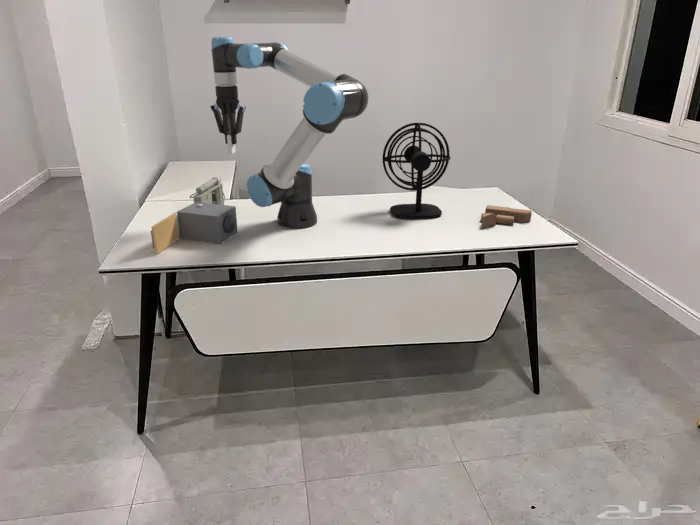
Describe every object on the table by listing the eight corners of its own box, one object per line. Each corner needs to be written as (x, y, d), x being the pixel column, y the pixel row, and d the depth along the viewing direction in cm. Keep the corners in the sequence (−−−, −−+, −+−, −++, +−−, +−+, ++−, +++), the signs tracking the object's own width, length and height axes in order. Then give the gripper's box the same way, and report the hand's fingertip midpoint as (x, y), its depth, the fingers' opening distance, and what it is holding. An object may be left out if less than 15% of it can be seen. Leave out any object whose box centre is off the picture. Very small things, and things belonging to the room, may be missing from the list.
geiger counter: (202, 188, 199) (229, 172, 222) (186, 187, 200) (214, 171, 223) (205, 224, 205) (232, 205, 227) (190, 223, 206) (217, 204, 228)
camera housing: (240, 233, 196) (237, 205, 192) (222, 244, 186) (219, 215, 182) (199, 227, 201) (196, 200, 197) (180, 238, 191) (176, 209, 187)
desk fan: (442, 204, 229) (448, 119, 215) (454, 218, 213) (462, 127, 199) (378, 207, 226) (381, 120, 212) (386, 220, 210) (389, 128, 196)
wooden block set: (484, 202, 215) (532, 207, 210) (483, 215, 217) (530, 221, 212) (479, 214, 200) (530, 220, 195) (477, 229, 203) (528, 235, 197)
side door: (158, 253, 177) (154, 226, 173) (153, 253, 177) (149, 226, 173) (180, 237, 190) (177, 212, 187) (176, 237, 191) (173, 212, 187)
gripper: (248, 84, 190) (253, 152, 199) (214, 83, 193) (221, 150, 203) (238, 86, 183) (243, 156, 193) (203, 85, 187) (210, 154, 196)
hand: (232, 153), depth 198 cm, fingers closed
